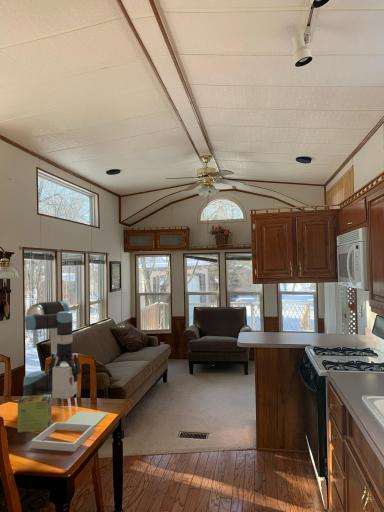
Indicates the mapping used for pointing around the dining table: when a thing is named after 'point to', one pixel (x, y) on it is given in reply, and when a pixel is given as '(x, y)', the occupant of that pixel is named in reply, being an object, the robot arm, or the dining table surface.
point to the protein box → (34, 413)
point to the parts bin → (62, 446)
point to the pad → (87, 418)
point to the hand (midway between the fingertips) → (65, 387)
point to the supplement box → (62, 382)
